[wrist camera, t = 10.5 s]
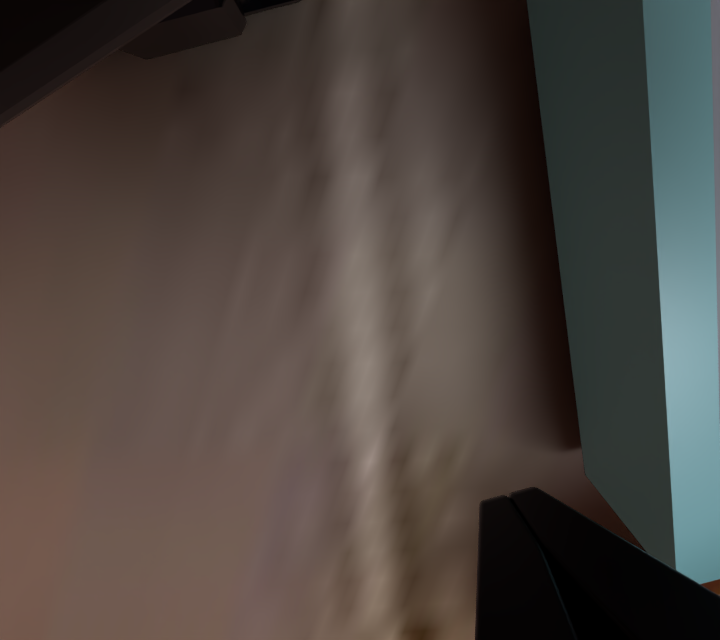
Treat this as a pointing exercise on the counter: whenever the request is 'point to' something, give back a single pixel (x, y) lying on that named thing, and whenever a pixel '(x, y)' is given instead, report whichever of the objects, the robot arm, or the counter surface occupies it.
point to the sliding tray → (640, 255)
